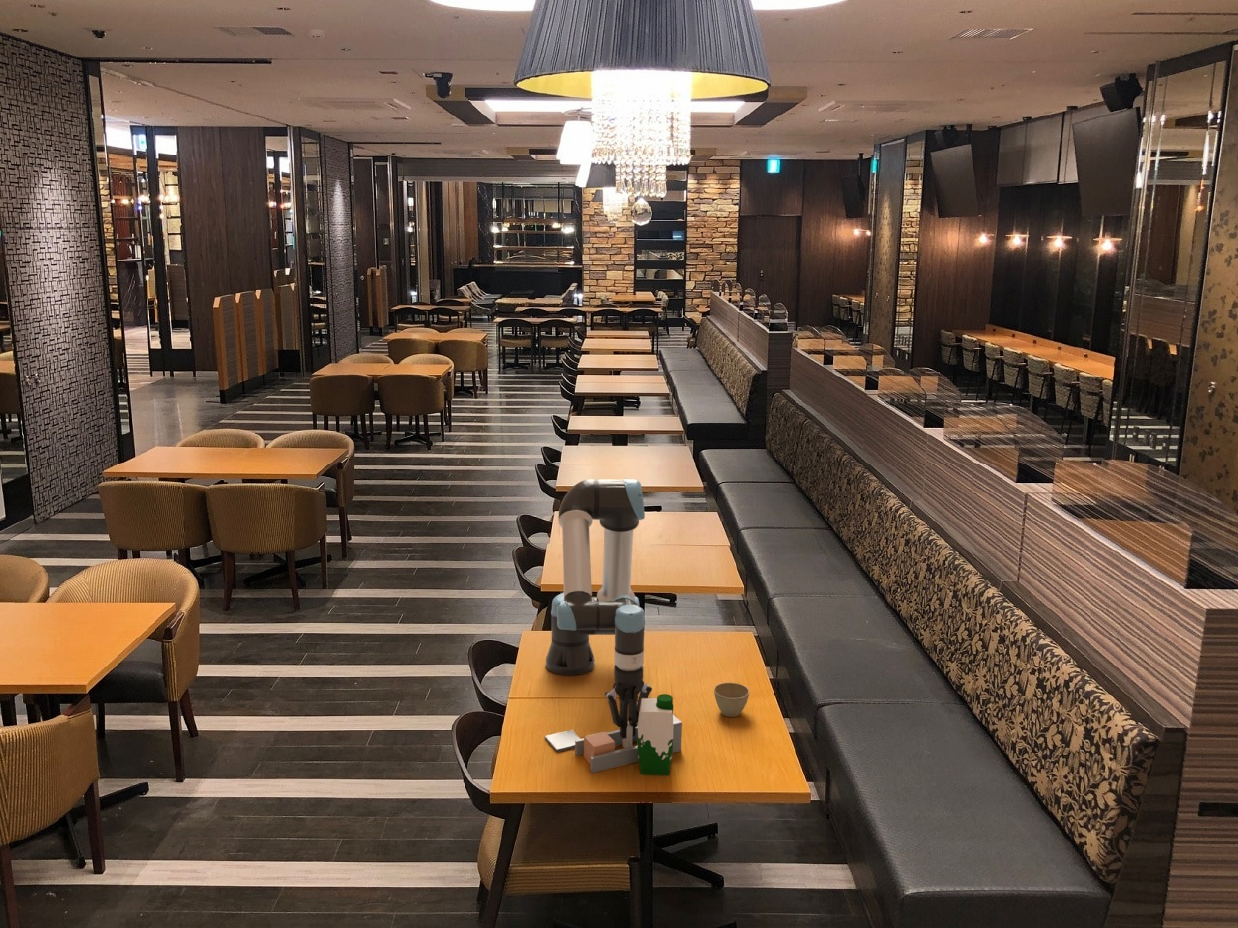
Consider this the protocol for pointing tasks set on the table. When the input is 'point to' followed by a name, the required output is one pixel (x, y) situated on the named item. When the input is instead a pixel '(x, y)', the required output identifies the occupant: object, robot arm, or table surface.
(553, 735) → the coaster
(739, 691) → the flower pot
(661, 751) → the milk carton
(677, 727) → the chute
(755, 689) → the table surface
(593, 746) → the block
